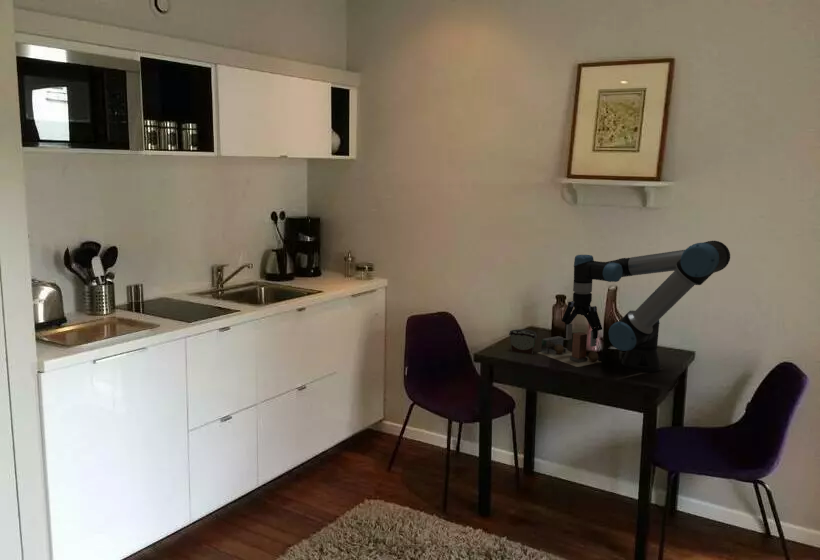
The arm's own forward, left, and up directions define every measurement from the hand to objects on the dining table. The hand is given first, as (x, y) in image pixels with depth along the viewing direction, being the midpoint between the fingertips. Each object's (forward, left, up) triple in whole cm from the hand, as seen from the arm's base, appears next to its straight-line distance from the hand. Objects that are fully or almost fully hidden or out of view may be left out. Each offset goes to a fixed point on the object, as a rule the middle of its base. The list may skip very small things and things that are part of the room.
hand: (580, 342), depth 287 cm
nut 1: (+12, 0, -8) cm, 15 cm away
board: (+6, 0, -9) cm, 11 cm away
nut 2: (-3, -4, -8) cm, 10 cm away
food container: (+23, +10, -9) cm, 27 cm away
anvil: (+14, 0, -8) cm, 16 cm away
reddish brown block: (+1, 0, -8) cm, 8 cm away
